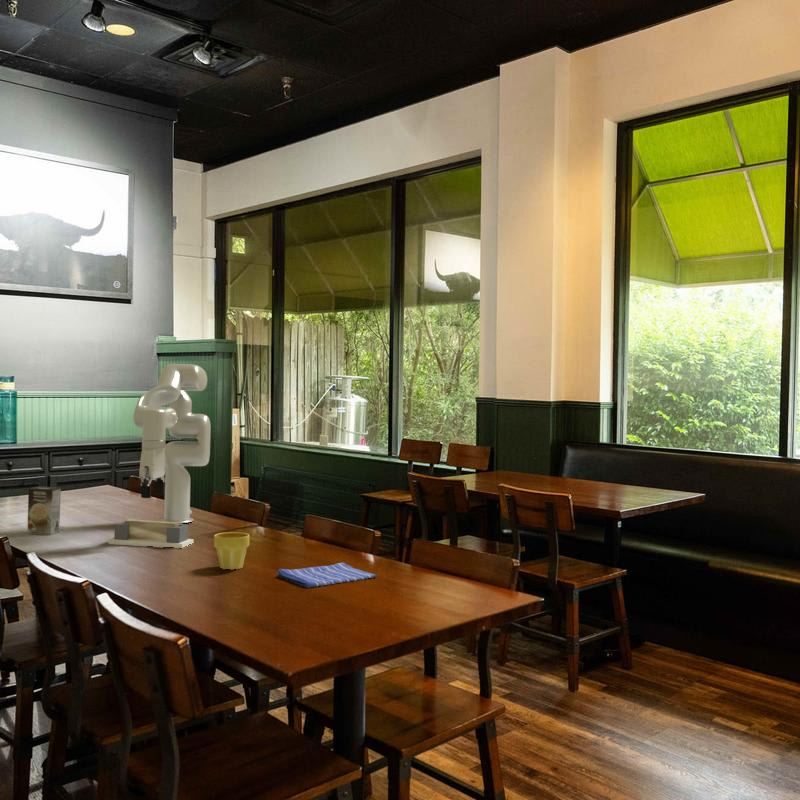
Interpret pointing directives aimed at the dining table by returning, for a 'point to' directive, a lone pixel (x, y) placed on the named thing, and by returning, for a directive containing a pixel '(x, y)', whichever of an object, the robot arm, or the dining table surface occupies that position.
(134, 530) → the slat
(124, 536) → the end cap board
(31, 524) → the coffee box
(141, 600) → the dining table surface
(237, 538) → the plant pot
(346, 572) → the dish towel
